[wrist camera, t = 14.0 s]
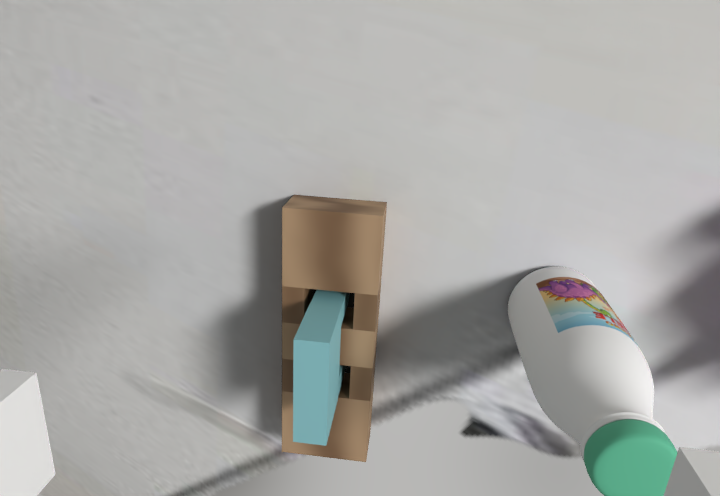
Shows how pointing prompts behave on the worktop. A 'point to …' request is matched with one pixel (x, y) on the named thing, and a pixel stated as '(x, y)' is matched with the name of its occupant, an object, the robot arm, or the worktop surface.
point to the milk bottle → (591, 380)
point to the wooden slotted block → (360, 324)
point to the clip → (318, 367)
